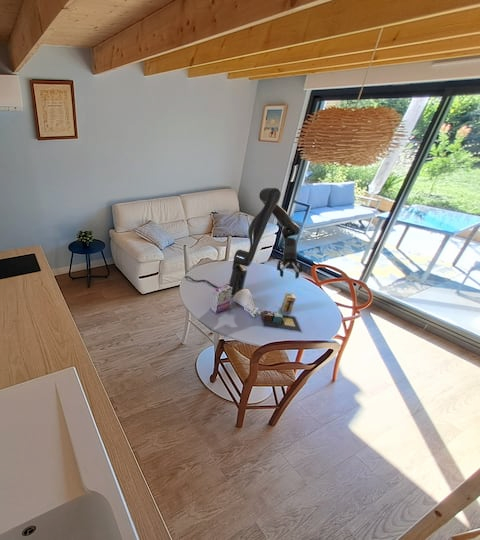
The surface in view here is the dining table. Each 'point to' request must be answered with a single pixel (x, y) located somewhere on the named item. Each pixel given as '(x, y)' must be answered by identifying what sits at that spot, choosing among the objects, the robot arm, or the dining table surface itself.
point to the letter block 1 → (267, 316)
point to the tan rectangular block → (288, 303)
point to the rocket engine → (246, 301)
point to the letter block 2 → (277, 317)
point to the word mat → (284, 323)
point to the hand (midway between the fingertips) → (289, 277)
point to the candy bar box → (221, 298)
